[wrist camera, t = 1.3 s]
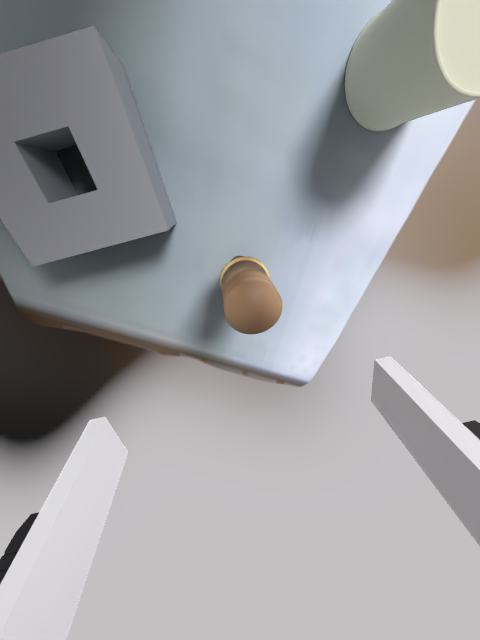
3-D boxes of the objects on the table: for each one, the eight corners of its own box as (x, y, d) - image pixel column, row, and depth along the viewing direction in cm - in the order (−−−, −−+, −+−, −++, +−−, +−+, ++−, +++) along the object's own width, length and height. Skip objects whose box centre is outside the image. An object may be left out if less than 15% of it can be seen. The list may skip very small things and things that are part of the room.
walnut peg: (255, 239, 31) (279, 271, 20) (263, 279, 34) (288, 327, 22) (213, 250, 31) (213, 288, 20) (224, 289, 34) (230, 342, 22)
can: (402, 143, 28) (519, 117, 17) (329, 114, 26) (408, 65, 15) (455, 29, 24) (651, -97, 13) (372, -15, 22) (522, -204, 11)
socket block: (122, 62, 22) (94, 25, 17) (176, 222, 29) (168, 230, 24) (-22, 105, 23) (-93, 81, 18) (64, 252, 30) (32, 266, 24)
